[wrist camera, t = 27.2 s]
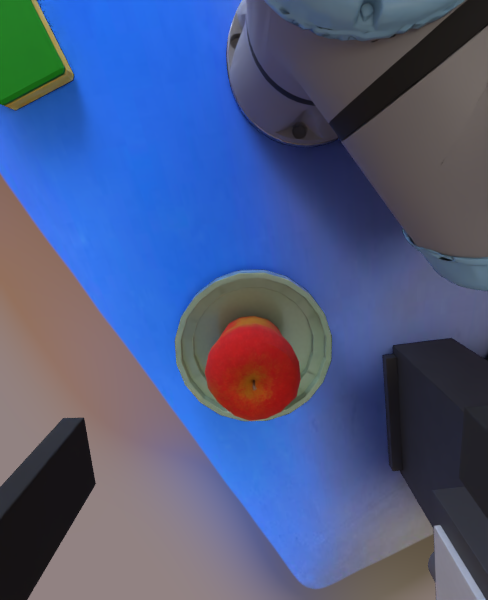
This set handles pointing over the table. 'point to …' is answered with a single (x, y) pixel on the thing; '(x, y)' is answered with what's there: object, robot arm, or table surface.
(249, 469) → the table surface
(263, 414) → the apple
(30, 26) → the dish sponge
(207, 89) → the table surface
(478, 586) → the coffee maker
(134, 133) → the table surface
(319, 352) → the dish
